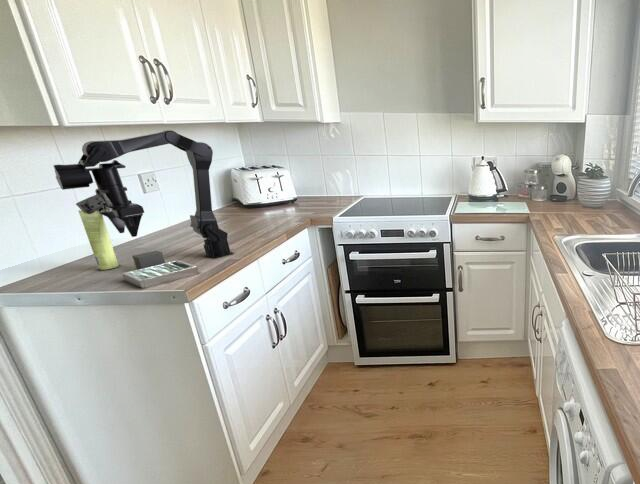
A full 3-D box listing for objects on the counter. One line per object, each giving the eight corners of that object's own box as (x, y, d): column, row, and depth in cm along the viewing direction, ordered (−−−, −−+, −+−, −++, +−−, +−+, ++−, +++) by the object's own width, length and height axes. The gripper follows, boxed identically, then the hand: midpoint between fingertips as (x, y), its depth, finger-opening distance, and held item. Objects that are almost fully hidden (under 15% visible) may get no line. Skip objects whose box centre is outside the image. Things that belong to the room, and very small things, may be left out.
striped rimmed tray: (180, 266, 139) (177, 259, 138) (198, 273, 133) (196, 266, 132) (124, 280, 127) (121, 273, 126) (142, 288, 121) (139, 280, 120)
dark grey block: (160, 264, 142) (156, 250, 140) (166, 266, 140) (162, 252, 138) (137, 270, 137) (132, 255, 135) (143, 272, 134) (138, 257, 133)
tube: (121, 264, 142) (102, 207, 136) (121, 267, 139) (100, 210, 132) (99, 267, 139) (78, 210, 132) (98, 271, 135) (76, 212, 129)
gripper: (62, 186, 122) (82, 237, 128) (85, 191, 113) (106, 245, 119) (110, 181, 131) (127, 228, 137) (135, 185, 122) (153, 236, 128)
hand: (128, 234), depth 130 cm, fingers open, 9 cm apart
